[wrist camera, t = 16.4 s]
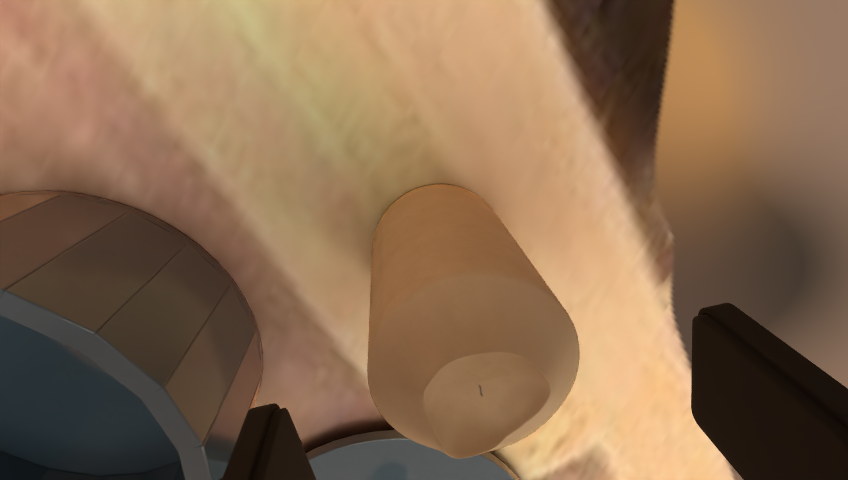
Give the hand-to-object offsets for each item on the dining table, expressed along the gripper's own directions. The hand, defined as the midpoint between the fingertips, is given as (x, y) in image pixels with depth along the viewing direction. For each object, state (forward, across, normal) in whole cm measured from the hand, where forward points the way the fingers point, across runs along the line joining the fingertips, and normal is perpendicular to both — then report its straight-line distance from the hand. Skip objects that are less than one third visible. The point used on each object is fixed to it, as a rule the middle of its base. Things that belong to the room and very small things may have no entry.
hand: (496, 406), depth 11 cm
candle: (+10, 0, 0) cm, 10 cm away
